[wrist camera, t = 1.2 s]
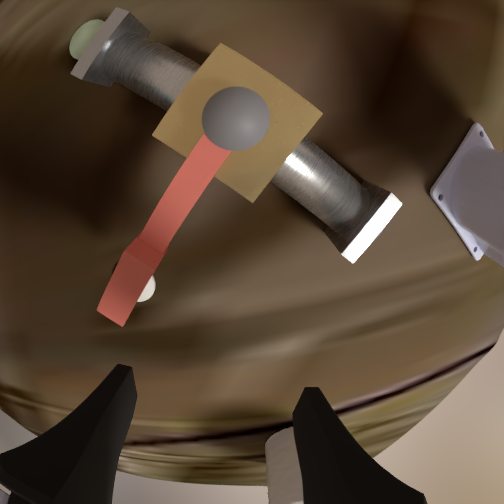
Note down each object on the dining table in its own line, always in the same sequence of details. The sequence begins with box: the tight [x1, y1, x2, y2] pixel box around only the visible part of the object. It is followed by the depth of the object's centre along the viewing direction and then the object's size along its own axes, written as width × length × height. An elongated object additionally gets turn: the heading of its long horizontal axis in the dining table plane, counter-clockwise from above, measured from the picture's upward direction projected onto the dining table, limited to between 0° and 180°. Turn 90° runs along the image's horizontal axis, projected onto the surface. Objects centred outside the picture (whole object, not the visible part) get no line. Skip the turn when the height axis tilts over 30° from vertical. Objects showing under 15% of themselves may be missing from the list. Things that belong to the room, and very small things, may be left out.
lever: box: [97, 87, 270, 327], centre depth 12 cm, size 12×3×3 cm, turn 144°
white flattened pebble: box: [137, 275, 156, 302], centre depth 19 cm, size 3×3×1 cm
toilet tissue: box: [265, 427, 303, 504], centre depth 25 cm, size 11×12×10 cm
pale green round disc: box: [69, 19, 104, 60], centre depth 12 cm, size 3×3×1 cm
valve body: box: [70, 7, 402, 263], centre depth 14 cm, size 20×6×4 cm, turn 54°
